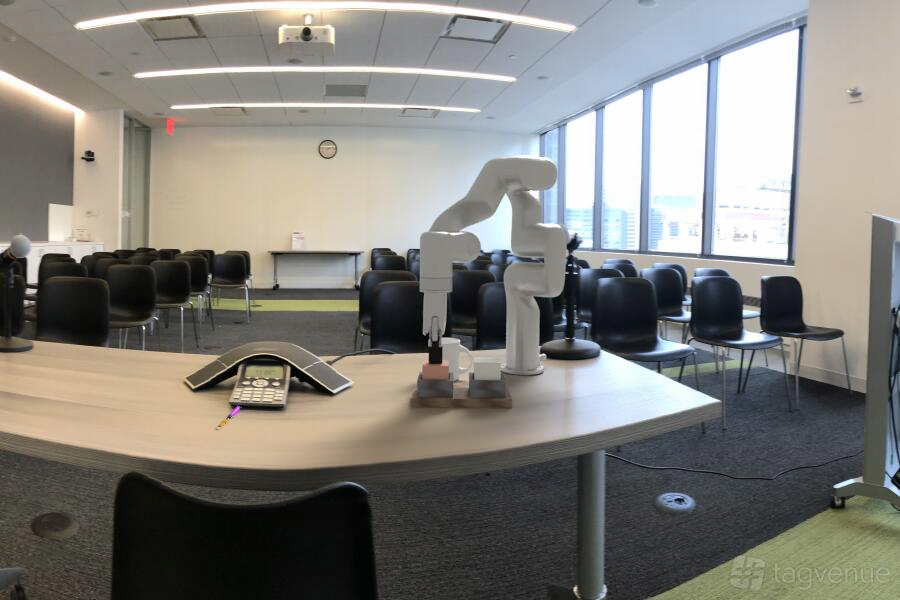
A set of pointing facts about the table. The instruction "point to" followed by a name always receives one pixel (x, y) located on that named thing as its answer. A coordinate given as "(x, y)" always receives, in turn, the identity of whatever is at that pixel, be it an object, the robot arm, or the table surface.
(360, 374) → the table surface
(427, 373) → the terracotta key
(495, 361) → the cream key
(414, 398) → the key panel
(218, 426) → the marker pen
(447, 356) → the mug
